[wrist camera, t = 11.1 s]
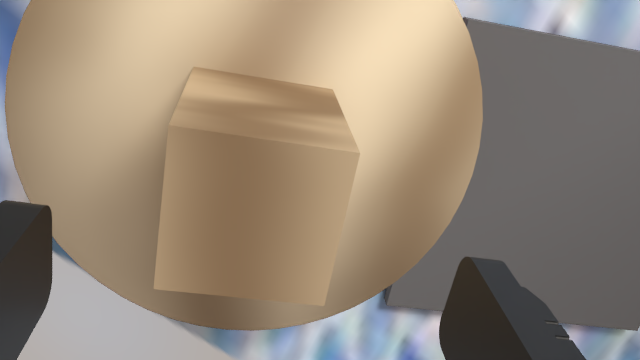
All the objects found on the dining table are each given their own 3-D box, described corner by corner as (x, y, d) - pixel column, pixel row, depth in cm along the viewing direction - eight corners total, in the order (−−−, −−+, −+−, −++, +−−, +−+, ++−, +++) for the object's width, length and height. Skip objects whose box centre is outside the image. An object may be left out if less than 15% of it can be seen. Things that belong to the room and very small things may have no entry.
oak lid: (529, -60, 17) (666, -48, 11) (409, 325, 22) (459, 463, 17) (16, -174, 14) (-138, -231, 9) (24, 288, 20) (-69, 434, 14)
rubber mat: (755, 73, 26) (766, 76, 25) (630, 323, 31) (637, 330, 31) (463, 17, 23) (468, 19, 23) (384, 298, 29) (386, 305, 28)
